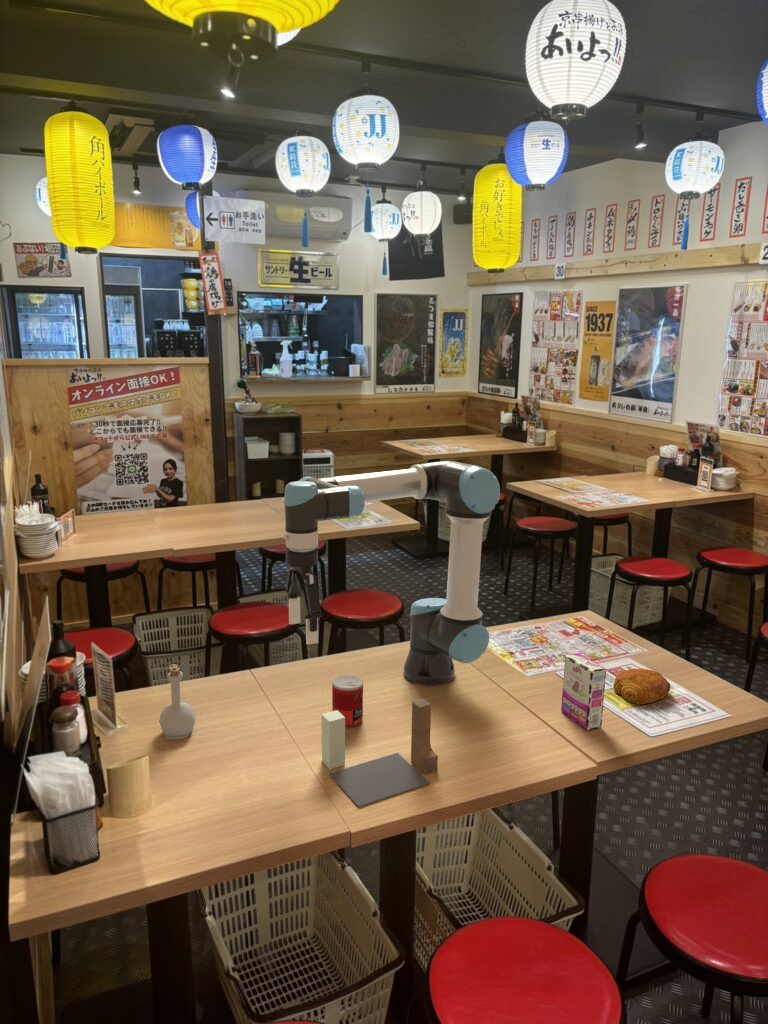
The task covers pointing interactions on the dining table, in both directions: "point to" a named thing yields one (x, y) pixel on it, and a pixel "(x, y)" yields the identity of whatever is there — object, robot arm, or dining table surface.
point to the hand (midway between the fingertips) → (303, 633)
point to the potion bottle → (176, 710)
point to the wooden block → (422, 737)
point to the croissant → (641, 685)
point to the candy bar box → (583, 691)
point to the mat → (378, 779)
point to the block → (333, 739)
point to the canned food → (348, 699)
